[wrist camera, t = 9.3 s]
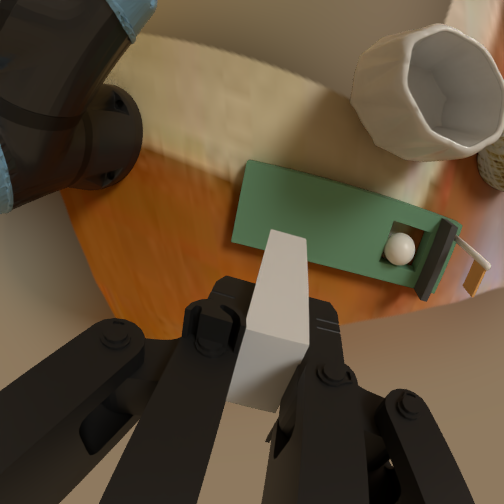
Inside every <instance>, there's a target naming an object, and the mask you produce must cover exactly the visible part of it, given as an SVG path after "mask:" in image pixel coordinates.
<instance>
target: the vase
mask: <svg viewBox="0 0 504 504" xmlns="http://www.w3.org/2000/svg"><path fill="white" fill-rule="evenodd" d="M350 104H351V105H352V106H353V107H354V109H355V110H356V112H357V114H358V116H359V119H360V121H361V122H362V124H363V126H364V127H365V129H366V130H367V131H368V133H369V134H370V136H371V137H372V139H373V143H374V144H375V145H376V146H378V147H380V148H382V149H384V150H386V151H388V152H391V153H392V154H394V155H396V156H398V157H400V158H402V159H404V160H409V161H418V162H432V161H444V160H454V159H462V158H466V157H469V156H472V155H474V154H476V153H478V152H479V151H481V150H482V149H484V148H485V147H486V146H488V145H491V144H493V143H495V142H496V141H497V140H498V139H499V138H500V136H501V135H502V132H503V130H504V80H503V78H502V75H501V74H500V72H499V70H498V68H497V65H496V63H495V61H494V60H493V58H492V56H491V54H490V53H489V52H488V50H487V49H486V48H485V47H484V46H483V45H482V44H481V43H479V42H478V41H477V40H475V39H473V38H472V37H470V36H467V35H465V34H464V33H463V32H461V31H460V30H458V29H456V28H453V27H451V26H448V25H445V24H440V23H438V24H432V25H429V26H426V27H423V28H420V29H413V30H409V31H405V32H400V33H396V34H392V35H388V36H385V37H382V38H381V39H379V40H378V41H377V42H376V43H375V44H373V45H372V46H371V47H370V48H369V49H367V50H366V51H365V52H364V53H363V54H362V55H361V56H359V58H358V64H357V67H356V69H355V73H354V80H353V86H352V93H351V98H350Z"/></svg>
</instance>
